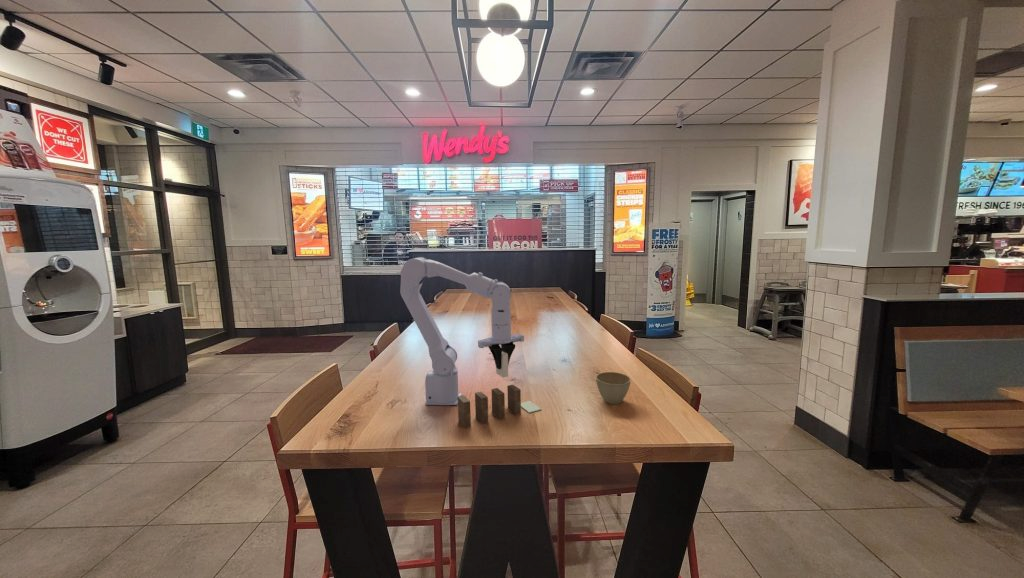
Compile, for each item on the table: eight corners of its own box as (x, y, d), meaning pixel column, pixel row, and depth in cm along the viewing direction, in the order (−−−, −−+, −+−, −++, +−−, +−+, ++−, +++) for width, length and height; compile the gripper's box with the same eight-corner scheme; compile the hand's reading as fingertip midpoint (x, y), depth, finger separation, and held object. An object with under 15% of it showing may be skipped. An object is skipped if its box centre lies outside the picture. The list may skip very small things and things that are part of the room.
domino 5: (515, 415, 107) (514, 390, 106) (507, 409, 111) (507, 385, 110) (520, 413, 108) (520, 389, 107) (513, 407, 112) (512, 384, 111)
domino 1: (464, 428, 100) (463, 402, 99) (458, 421, 104) (457, 396, 103) (470, 426, 101) (470, 401, 100) (464, 419, 105) (463, 395, 104)
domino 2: (482, 423, 102) (481, 398, 101) (475, 417, 106) (474, 392, 105) (488, 422, 103) (487, 397, 102) (481, 415, 107) (481, 391, 106)
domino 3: (502, 377, 115) (502, 354, 114) (496, 373, 118) (495, 351, 118) (508, 376, 115) (507, 353, 115) (501, 372, 119) (501, 350, 118)
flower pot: (589, 401, 115) (589, 378, 114) (606, 391, 122) (606, 369, 121) (620, 411, 108) (620, 386, 107) (636, 400, 116) (636, 377, 115)
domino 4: (499, 419, 105) (498, 394, 104) (492, 413, 109) (491, 389, 108) (504, 417, 106) (504, 393, 105) (497, 411, 109) (497, 387, 108)
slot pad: (529, 413, 108) (529, 412, 108) (517, 404, 114) (517, 403, 114) (541, 409, 110) (541, 408, 110) (529, 401, 115) (529, 400, 115)
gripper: (484, 329, 108) (485, 375, 110) (529, 323, 115) (529, 367, 117) (474, 324, 114) (475, 368, 116) (517, 318, 121) (518, 360, 123)
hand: (502, 367), depth 117 cm, fingers closed on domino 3, 2 cm apart
